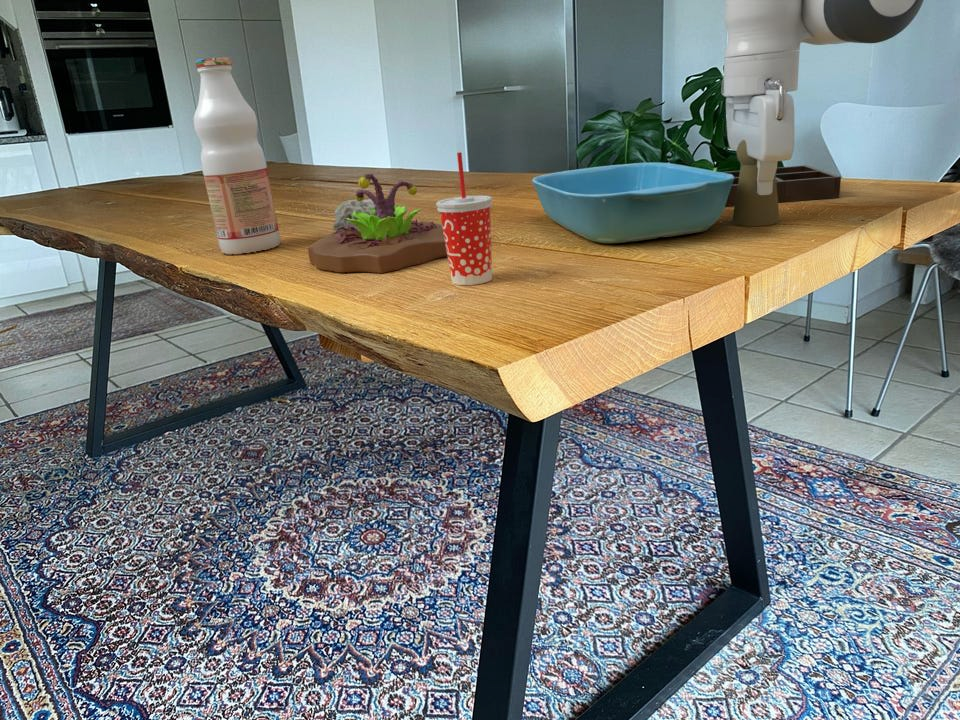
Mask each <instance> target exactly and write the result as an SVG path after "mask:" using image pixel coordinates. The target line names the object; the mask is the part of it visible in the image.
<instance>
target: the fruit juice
mask: <svg viewBox="0 0 960 720" xmlns="http://www.w3.org/2000/svg"><path fill="white" fill-rule="evenodd" d="M195 67H196V70H197V73H199V75H200V85H199V96H198V103H197V106H196V109H195V112H194V114H193V119H192V123H193V129H194V132H195V134H196V136H197V138H198V140H199V142H200V146H201V151H200V163H201V171H202V176H203V179H204V184H205V187H206V192H207V193H206V194H207V197H208V198H207V199H208V202H209V206H210V211H211V215H212V220H213V224H214V228H215V232H216V233H215V234H216V239H217V242H218V247H219V250H220V251H221V253H222V254H224V253H225V254H224V255H232V254H233V255H243V254H242V253H247V254H251V253H250V252H254V253H257V252H256V251H260V252H262V251H261V250H265V249H268V250H270V249H269V248H272V249H274V248H273V247H275V248H277V247H278V246H280V245H281V234H280V228H279V224H278V218H277V213H276V209H275V202H274V196H273V193H272V187H271V182H270V177H269V171H268V165H267V161H266V156H265V152H264V150H263V148H262V147H261V145H260V143H259V141H258V119H257V116H256V113H255V111H254V109H253V108H252V107H251V106H250V105H249V104H248V102H247V101H246V100H245V97H243V94H242V93H241V91H240V89H239V88H238V86H237V83H236V82H235V80H234V77H233V75H232V70H233V68H232V61H231V59H230V58H229V57H211V58H210V57H209V58H201V59H197V60H195ZM276 246H277V247H276ZM265 251H266V250H265Z"/></svg>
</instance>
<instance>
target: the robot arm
mask: <svg viewBox="0 0 960 720" xmlns="http://www.w3.org/2000/svg"><path fill="white" fill-rule="evenodd" d="M724 1H725V3H724V5H725V6H724V25H725V27H726V32H727V42H726V47H725V50H724V54H723V78H722V81H721V95H722V96H723V97H724V98H725V116H726V117H725V118H726V137H727V143H728V147H729V149H730V150H732V151H735V152H737V147H738V145H739V143H740V142H741V141H742V140H745V141H746V145H747V154H748V156H750V157H752V158H755V159H757V168H758V175H757V180H756V188H755V191H756V193H757V194H759V195H770V194H771V193H772V191H773V180H774V176H775V173H776V169H777V168H778V162H785V161H789V160H791V159H792V158H793V155H794V152H795V151H794V150H795V101H794V98H793V97H792V95H791V94H788V93H789V92H796V91H797V90H798V89H799V70H800V69H799V68H800V49H801V43H804V44H809V45H814V46H825V45H826V46H827V45H840V44H848V43H851V44H852V43H854V44H878V43H883V42H885V41H888V40H890V39H892V38H894V37H895V36H897V35H898V34H900V33H902V32H903V31H904V30H905V29H906V28H907V27H908V26H909V25H910V24H911V23H912V22H913V20H914V19H915V18H916V17H917V15H918V13H919V11H920V10H921V7H922V6H923V4H924V0H724Z"/></svg>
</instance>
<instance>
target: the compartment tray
mask: <svg viewBox="0 0 960 720" xmlns="http://www.w3.org/2000/svg"><path fill="white" fill-rule="evenodd" d="M721 172H722V173H728V174H731V175H733V176H734V180H733V183H732V186H731V189H730V192H729V195H728V199H727V202H726V204H725V207H734V206H735V199H736V193H737V187H738V180H739V174H740V170H733V171H732V170H730V171H721ZM775 176H776V187H777V197H778V203H790V202H791V203H792V202H803V201H804V202H805V201H816V200H828V199H839V198H840V194H841V181H842V176H840V175H837V174H834V173H831V172H828V171H825V170H822V169H820V168H816V167H813V166H811V165H807V164H805V165H804V164H803V165H794V166H793V165H792V166H779V167H777V169H776V173H775Z"/></svg>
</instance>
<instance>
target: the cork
mask: <svg viewBox="0 0 960 720" xmlns="http://www.w3.org/2000/svg"><path fill="white" fill-rule="evenodd" d="M736 158H737V161H738V162H739V164H740V169H739V171H740V174H739V180H738V187H737V193H736V199H735V206H733V212H732V219H731V224H733V225H735V226H741V227H763V226H771V225H776V224H778V223H780V221H781V220H780V219H781V218H780V209H779V202H778V197H777V187H776V176H774V180H773V191H772V193H771V194H770V195H759V194H757V193H756V191H755V188H756V180H757V175H758V168H757V159H755V158H752V157H750V156H748V154H747V145H746V141H745V140H742V141H741V142H740V143H739V145H738V147H737V151H736Z"/></svg>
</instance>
